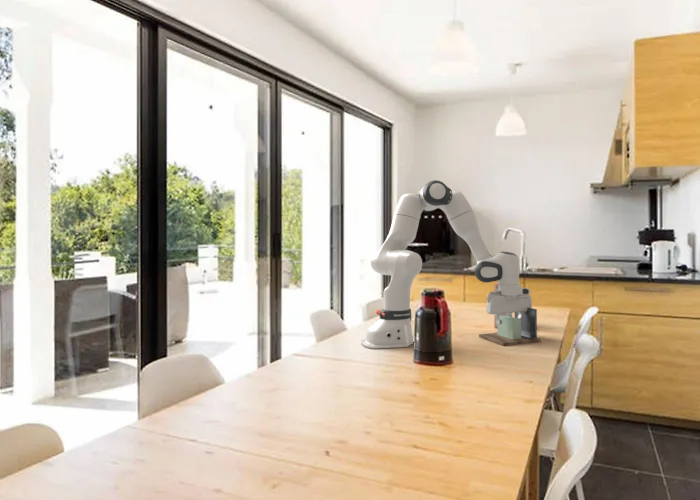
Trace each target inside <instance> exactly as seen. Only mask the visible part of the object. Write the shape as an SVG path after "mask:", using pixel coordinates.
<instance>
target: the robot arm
mask: <svg viewBox="0 0 700 500" xmlns="http://www.w3.org/2000/svg"><path fill="white" fill-rule="evenodd" d="M420 188H421V189H419V190H418V192H417V193H411V192H409V193H404V194H402V195H401V196H400V198H399V199H398V202H397V205H396V206H395V207H396V208H395V210H394V214H393V217H392V221H391V226H390V229H389V232H388V234H387V236H386V239H385V240H384V242H383V243H382V244H381V246H380V248H379V249H378V250H376V251H375V252H374V253H373V254H372V255H371V258H370V266H371V269H372V270H373V271H374V272H375V273H378V274H379V275H383V276H390V281H389V283H388V286H386V287H385V288H384V289H383V295H382V296H383V298H382V299H383V302H382V303H383V309H382V310H379V309H376V310H375V314H376V315H377V316H379V318H378V319H377V320H376V321H375V322H374V323H372V324H371V325H370V326H369V327H368V328H367V329H366V334H365V339H361V340H360V344H361V346H363V347H364V348H368V349H375V350H376V349H391V348H392V349H393V348H408V347H409V346H411V345H413V344H414V343H413V338H414V335H413V329H412V309H411V289H412V284H413V281H414V279H415V278H416V276H418V275H419V274H420V273H421V270H422V268H423V259H422V257H421V255H420V254H419V253H418V252H414V251H412V250H408V249H407V247H408V246H409V245H410V244H411V243H413V242H414V240H415V239H416V237H417V232H418V228H419V223H420V219H421V215H422V213H431V212H433V211H435V210H437V209H439V210H441V211H442V212H443V213H444V214H445V215H446V218H447V220H448V223H449V225H450V226H451V228H452V229H453V231H454V233H455V234H456V235H457V236H458V237H460V238H461V239H463V241H465V242H466V244H467V245H468V246H469V249H470V251H471V253H472V255H473V256H474V260H475V261H476V266H475V268H474V275H475V277H476V279H477V280H478V281H480V282H482V283H485V284H488V283H491V282H498V291H495V292H494V291H490V292H489V293H488V294H487V295H486V306H485V307H486V308H485V310H486V313H487V314H489V315H494V316H495V318H496V320H497V324H502V320H500V318H499V316H500V314H502V313H512V314H513V313H515V312H518V314H519V315H518V318H517V319H521V318H522V317H523V315H524V312H525V311H527V308H533V305H532V303H533V301H532V296H531V291H532V290H531V289H530V288H526V287H523V286H521V281H520V272H521V271H520V259H519V256H518V255H517V254H516V253H514V252H509V251H499V253H497V254H496V255H494V256H492V255H491V254H490V252H489V251H488V249H487V247H486V244H485V243H484V240H483V237H482V236H481V233H480V228H479V223H478V220H477V218H476V215H475V212H474V210H473V208H472V207H471V204H470V203H469V202H470V201H468V199H467V198H466V196H465V195H464V194H463V192H462V191H460V190H452V189H451V188H450V187H448V185H446V184H445V182H443V181H440V180H435V179H433V180H430V181H429V182H427V183H426V184H425V185H424V186H422V187H420ZM494 316H493V317H494Z"/></svg>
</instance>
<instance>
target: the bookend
mask: <svg viewBox="0 0 700 500" xmlns="http://www.w3.org/2000/svg"><path fill="white" fill-rule="evenodd" d="M537 311H538V309H537V308H533V307H532V308H527V311H525V312H524V315H523V317H522V318H521V337H525V338H528V339H533V338H538V328H537V327H538V325H537V323H538V321H537V320H538V316H537V315H538V312H537ZM518 315H519V314H518V312H514V318H518Z"/></svg>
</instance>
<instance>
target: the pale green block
mask: <svg viewBox="0 0 700 500" xmlns="http://www.w3.org/2000/svg"><path fill="white" fill-rule="evenodd" d="M499 318H500V320H502V324H497V328H496V330H497V332H496V333H497V334H498V335H501V336H504V337H506V338H509V339H512V340H514V339H521V319H517V318H515V316H512V317H510V316H506V315H503V316H499Z"/></svg>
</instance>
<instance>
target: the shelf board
mask: <svg viewBox="0 0 700 500" xmlns="http://www.w3.org/2000/svg"><path fill="white" fill-rule="evenodd" d="M478 337H479V338H480V339H483V340H485V341H489V342H491V343H494V344H497V345H499V346H502V347H505V346H506V347H507V346H517V345H524V344H526V345H527V344H534V343H542V338H540V337H537V338H533V339H528V338H525V337H521V339H514V340H512V339H509V338H506V337H504V336H501V335H498V334H497V332H489V333H479V334H478Z"/></svg>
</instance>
